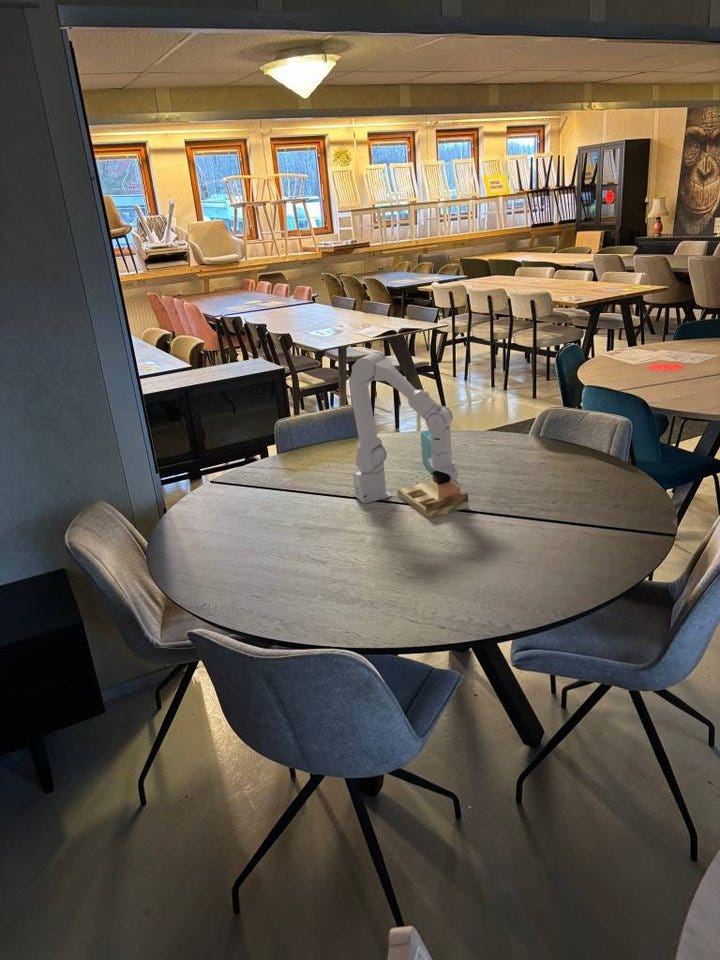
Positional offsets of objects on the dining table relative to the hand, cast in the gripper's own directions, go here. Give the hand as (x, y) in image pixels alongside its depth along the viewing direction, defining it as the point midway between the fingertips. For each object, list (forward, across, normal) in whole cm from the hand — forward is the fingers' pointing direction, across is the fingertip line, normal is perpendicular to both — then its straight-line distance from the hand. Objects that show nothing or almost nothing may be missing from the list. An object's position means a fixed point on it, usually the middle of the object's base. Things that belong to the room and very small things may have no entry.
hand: (443, 494), depth 197 cm
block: (+1, -3, 0) cm, 3 cm away
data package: (+3, +27, -11) cm, 30 cm away
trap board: (+3, +4, +2) cm, 5 cm away
